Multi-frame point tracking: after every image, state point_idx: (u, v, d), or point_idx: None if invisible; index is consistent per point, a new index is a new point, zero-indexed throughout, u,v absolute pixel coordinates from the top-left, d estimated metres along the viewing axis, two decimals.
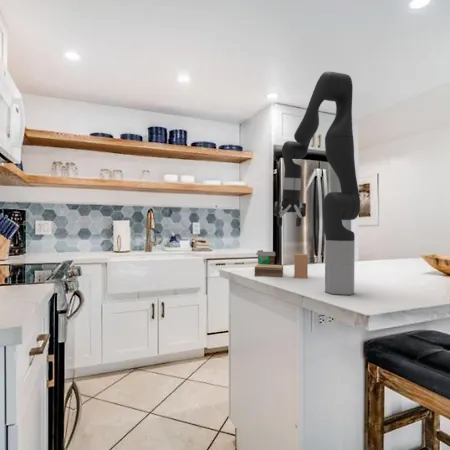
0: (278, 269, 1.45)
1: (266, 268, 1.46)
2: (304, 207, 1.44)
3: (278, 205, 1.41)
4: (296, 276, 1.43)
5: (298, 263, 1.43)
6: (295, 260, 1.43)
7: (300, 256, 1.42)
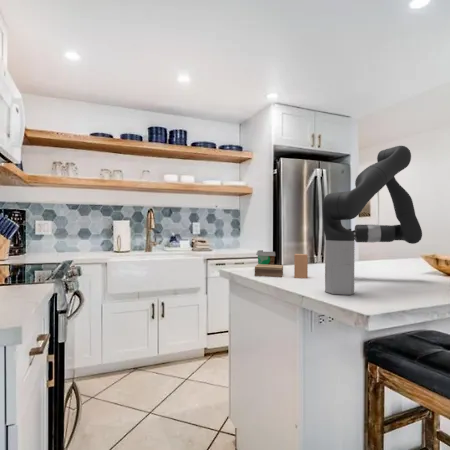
0: (278, 269, 1.45)
1: (266, 268, 1.46)
2: None
3: None
4: (296, 276, 1.43)
5: (298, 263, 1.43)
6: (295, 260, 1.43)
7: (300, 256, 1.42)
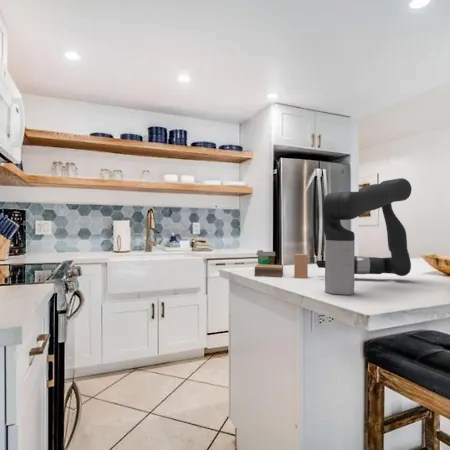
0: (278, 269, 1.45)
1: (266, 268, 1.46)
2: None
3: None
4: (296, 276, 1.43)
5: (298, 263, 1.43)
6: (295, 260, 1.43)
7: (300, 256, 1.42)
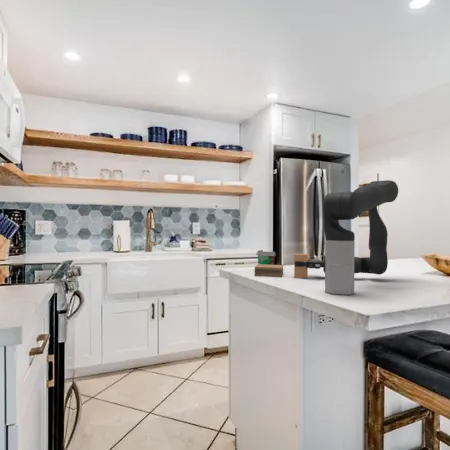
0: (278, 269, 1.45)
1: (266, 268, 1.46)
2: (315, 262, 1.38)
3: None
4: (296, 276, 1.43)
5: None
6: (295, 260, 1.43)
7: (300, 256, 1.42)
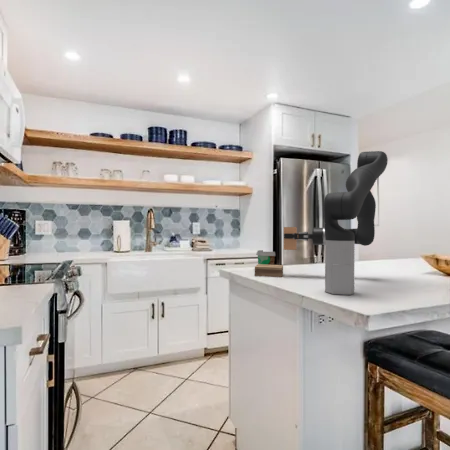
0: (278, 269, 1.45)
1: (266, 268, 1.46)
2: (303, 233, 1.41)
3: (304, 233, 1.52)
4: (285, 248, 1.46)
5: None
6: (284, 232, 1.46)
7: (289, 228, 1.45)
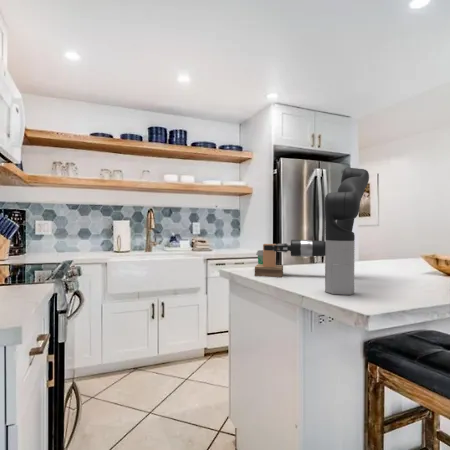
0: (278, 269, 1.45)
1: (266, 268, 1.46)
2: (283, 245, 1.45)
3: None
4: (265, 265, 1.50)
5: (266, 252, 1.50)
6: None
7: None
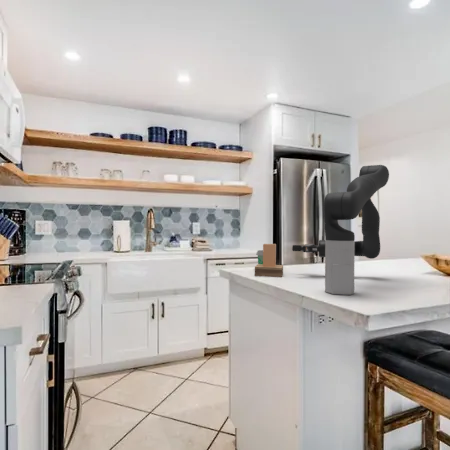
0: (278, 269, 1.45)
1: (266, 268, 1.46)
2: (312, 246, 1.42)
3: None
4: (265, 265, 1.50)
5: (266, 252, 1.50)
6: (264, 249, 1.50)
7: (268, 245, 1.49)
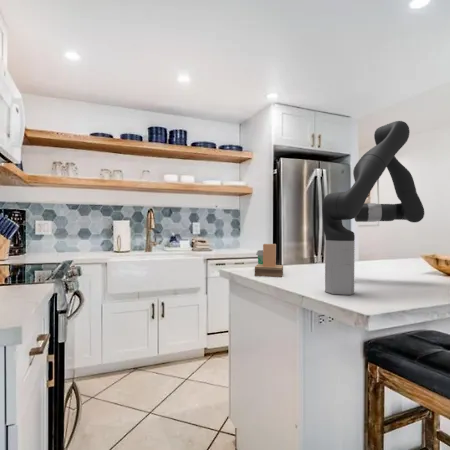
0: (278, 269, 1.45)
1: (266, 268, 1.46)
2: None
3: None
4: (265, 265, 1.50)
5: (266, 252, 1.50)
6: (264, 249, 1.50)
7: (268, 245, 1.49)
